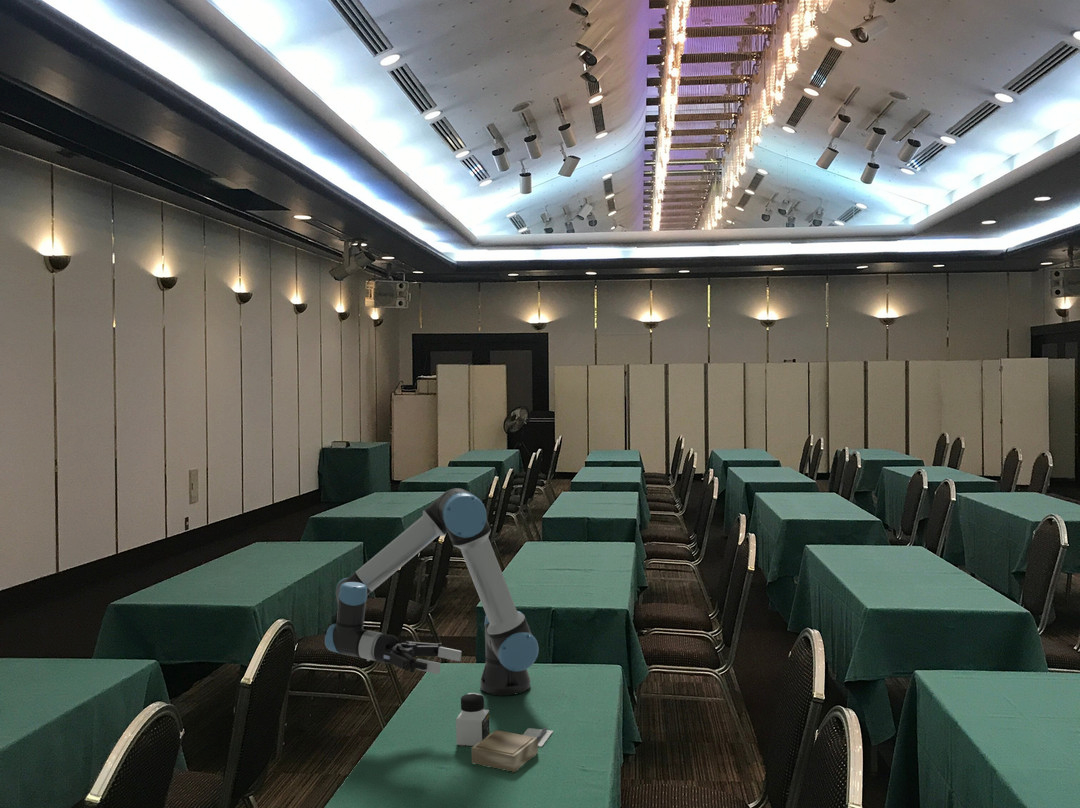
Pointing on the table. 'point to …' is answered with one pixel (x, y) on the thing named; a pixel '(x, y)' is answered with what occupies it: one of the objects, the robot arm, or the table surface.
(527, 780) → the table surface
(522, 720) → the table surface
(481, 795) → the table surface
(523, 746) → the beech tray
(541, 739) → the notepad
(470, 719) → the medicine bottle
